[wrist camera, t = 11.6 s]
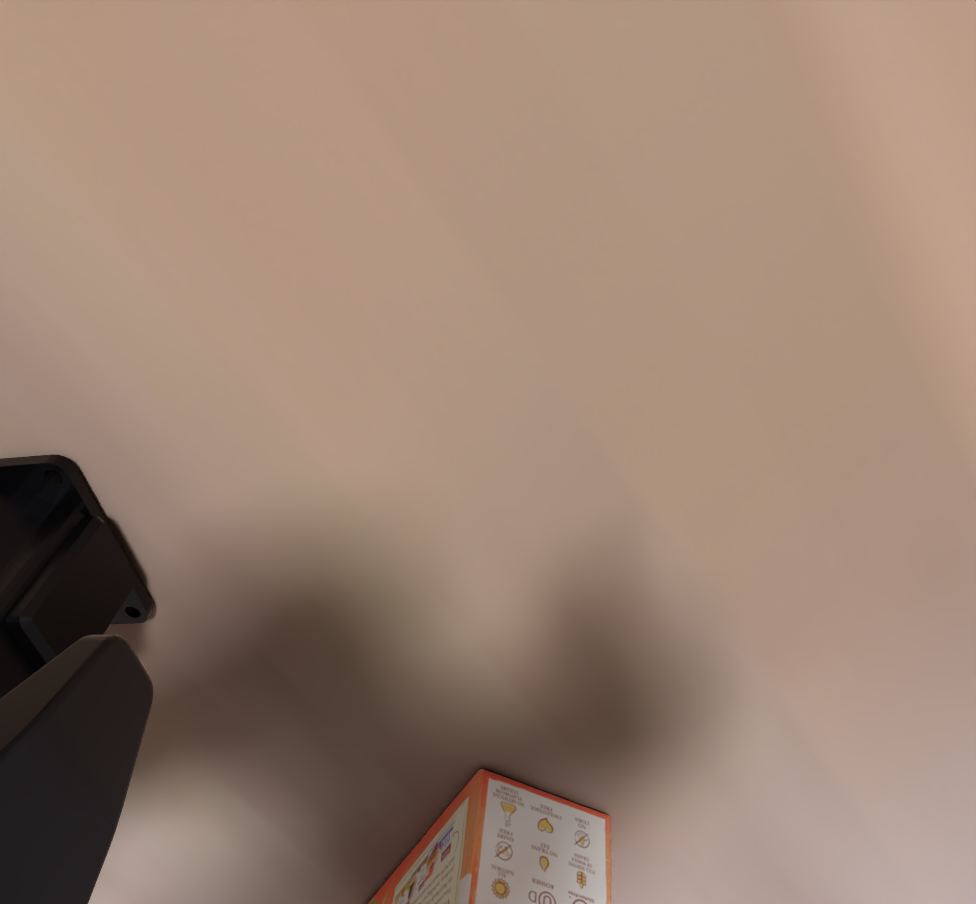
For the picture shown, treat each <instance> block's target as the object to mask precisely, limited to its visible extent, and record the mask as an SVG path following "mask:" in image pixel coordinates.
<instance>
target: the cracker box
mask: <svg viewBox="0 0 976 904" xmlns="http://www.w3.org/2000/svg"><path fill="white" fill-rule="evenodd" d="M610 833H611V826H610V817H609V816H608V815H606V814H604V813H601V812H598V811H595V810H593V809H590V808H587V807H584V806H581V805H578V804H576V803H573V802H571V801H568V800H565V799H563V798H560V797H557V796H555V795H552V794H549V793H546V792H544V791H541V790H538V789H535V788H533V787H530V786H527V785H525V784H522V783H520V782H517V781H514V780H512V779H509V778H506V777H504V776H501V775H498V774H495V773H493V772H490V771H487V770H484V769H480V770H479V771H478V772H477V773H476V774H475V775H474V776H473V778H472V779H471V780H470V781H469V782H468V784H467V785H466V786H465V787H464V788H463V790H462V791H461V792H460V793H459V795H458V796H457V797H456V798H455V799H454V800H453V802H452V803H451V804H450V805H449V806H448V807H447V809H446V810H445V811H444V812H443V814H442V815H441V816H440V817H439V818H438V820H437V821H436V822H435V823H434V824H433V826H432V827H431V828H430V829H429V830H428V832H427V833H426V834H425V836H424V837H423V838H422V839H421V840H420V841H419V843H418V844H417V845H416V846H415V848H414V849H413V850H412V851H411V852H410V854H409V855H408V856H407V857H406V858H405V859H404V861H403V862H402V863H401V864H400V865H399V867H398V868H397V869H396V870H395V871H394V873H393V874H392V875H391V876H390V877H389V879H388V880H387V881H386V882H385V883H384V885H383V886H382V887H381V888H380V889H379V891H378V892H377V893H376V894H375V896H374V897H373V898H372V899H371V900H370V902H369V903H368V904H612V902H611V836H610Z"/></svg>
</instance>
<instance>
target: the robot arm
mask: <svg viewBox="0 0 976 904" xmlns="http://www.w3.org/2000/svg"><path fill="white" fill-rule="evenodd" d="M55 471H56V472H57V473H59V474H60V475H59V474H57V473H56V472H55ZM152 611H153V603H152V601H151V600H150V598H149V596H148V594H147V592H146V591H145V589H144V587H143V585H142V584H141V582H140V580H139V578H138V576H137V575H136V573H135V571H134V569H133V568H132V566H131V564H130V562H129V561H128V559H127V557H126V555H125V553H124V552H123V550H122V548H121V546H120V545H119V543H118V541H117V539H116V537H115V536H114V534H113V532H112V530H111V529H110V527H109V525H108V523H107V522H106V520H105V518H104V516H103V514H102V513H101V511H100V509H99V507H98V506H97V504H96V502H95V500H94V498H93V497H92V495H91V493H90V491H89V490H88V488H87V486H86V484H85V482H84V481H83V479H82V477H81V475H80V474H79V472H78V470H77V468H76V467H75V466H74V464H73V463H72V462H71V461H70V460H68V459H67V458H65V457H62V456H60V455H42V456H29V457H17V458H5V459H0V904H88V902H89V899H90V897H91V894H92V892H93V889H94V887H95V884H96V881H97V879H98V876H99V874H100V871H101V868H102V866H103V863H104V861H105V858H106V856H107V853H108V850H109V847H110V845H111V842H112V839H113V836H114V834H115V831H116V828H117V824H118V821H119V818H120V815H121V811H122V808H123V805H124V801H125V797H126V794H127V790H128V787H129V783H130V780H131V776H132V772H133V769H134V765H135V762H136V758H137V755H138V751H139V747H140V744H141V740H142V737H143V733H144V730H145V726H146V722H147V719H148V715H149V712H150V708H151V704H152V700H153V686H152V682H151V679H150V677H149V675H148V674H147V672H146V670H145V669H144V667H143V666H142V664H141V662H140V661H139V659H138V657H137V656H136V654H135V652H134V651H133V649H132V648H131V646H130V644H129V643H128V641H127V640H126V639H125V638H124V637H122V636H120V635H117V634H104V632H105V631H106V629H107V628H108V626H109V624H127V623H142V622H145V621H146V620H147V619H148V617H149V616H150V614H151V612H152Z"/></svg>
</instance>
